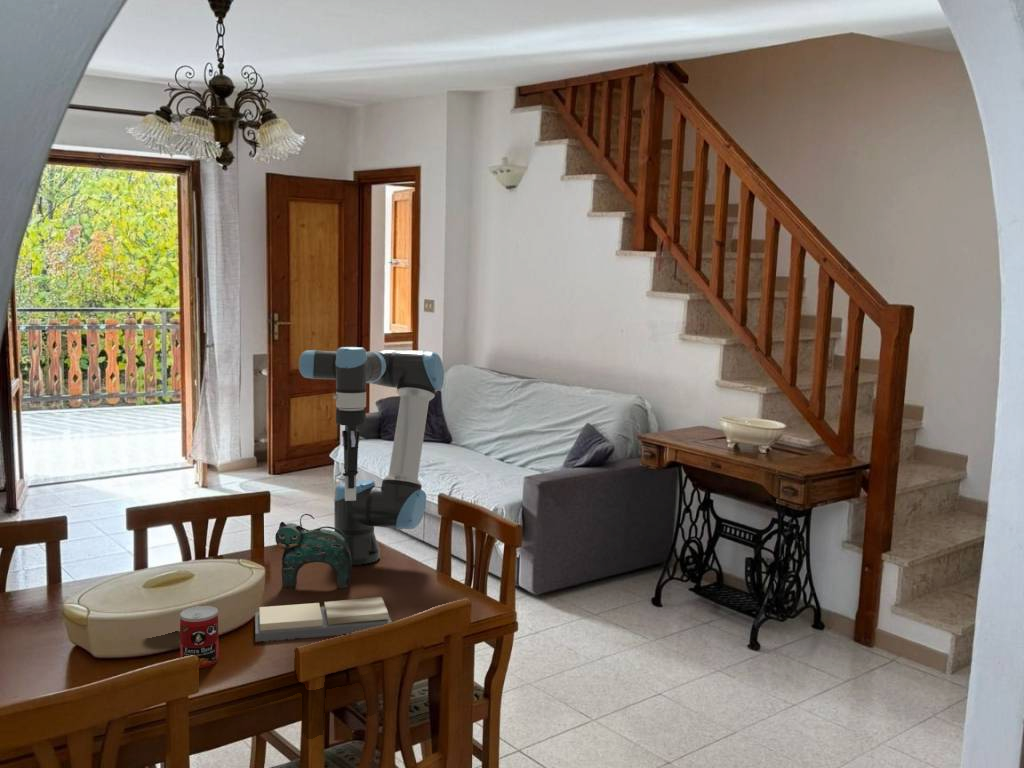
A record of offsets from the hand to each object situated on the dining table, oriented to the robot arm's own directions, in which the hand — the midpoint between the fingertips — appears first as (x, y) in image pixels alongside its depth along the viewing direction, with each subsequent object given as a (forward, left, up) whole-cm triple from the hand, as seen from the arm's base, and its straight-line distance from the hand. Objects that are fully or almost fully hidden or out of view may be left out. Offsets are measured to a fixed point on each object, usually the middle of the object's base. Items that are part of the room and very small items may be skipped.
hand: (350, 499), depth 227 cm
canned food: (+31, -35, -27) cm, 54 cm away
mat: (+16, -8, -26) cm, 32 cm away
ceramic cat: (-13, -8, -27) cm, 31 cm away
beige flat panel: (+16, 0, -24) cm, 29 cm away
